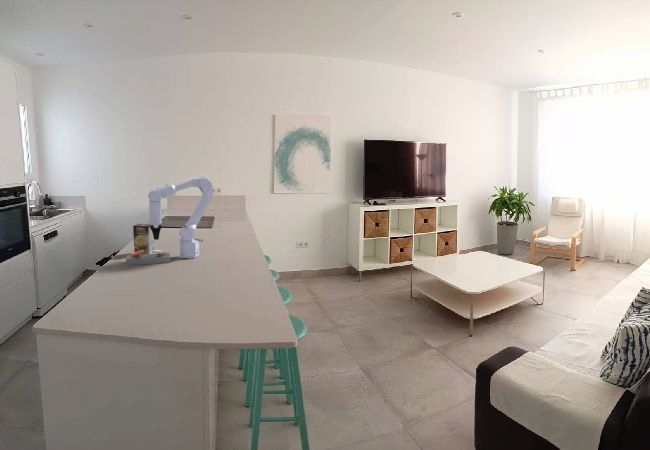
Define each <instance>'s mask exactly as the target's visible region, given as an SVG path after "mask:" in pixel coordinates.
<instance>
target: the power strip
mask: <svg viewBox="0 0 650 450" xmlns="http://www.w3.org/2000/svg"><path fill="white" fill-rule="evenodd" d="M166 263H167V264H168V263H171V255H170V252H165V254H160V253H154V254H143V255H136V256H133V257H131V254H130V255H126V257H125V266H139V265H152V264H153V265H154V264H166Z"/></svg>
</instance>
